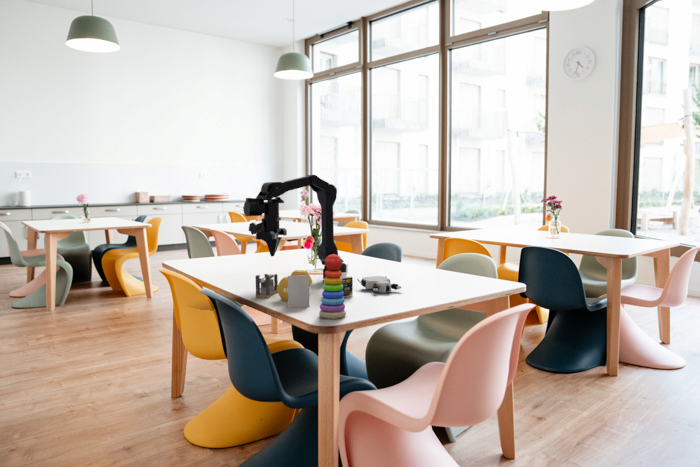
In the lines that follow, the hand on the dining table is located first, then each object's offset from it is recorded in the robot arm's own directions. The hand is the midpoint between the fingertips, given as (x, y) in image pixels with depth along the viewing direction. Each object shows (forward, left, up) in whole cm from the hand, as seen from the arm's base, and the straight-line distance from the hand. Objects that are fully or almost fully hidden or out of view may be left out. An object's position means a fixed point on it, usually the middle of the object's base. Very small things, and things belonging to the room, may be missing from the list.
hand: (272, 256), depth 197 cm
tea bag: (-18, +27, -13) cm, 35 cm away
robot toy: (-41, -2, -13) cm, 43 cm away
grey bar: (-2, +12, -7) cm, 14 cm away
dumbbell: (-12, +12, -13) cm, 22 cm away
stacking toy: (-32, +39, -13) cm, 52 cm away
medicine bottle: (-28, +9, -13) cm, 32 cm away
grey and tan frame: (-2, +12, -12) cm, 18 cm away
